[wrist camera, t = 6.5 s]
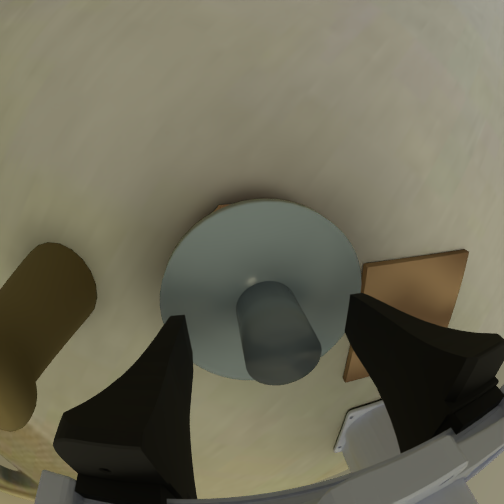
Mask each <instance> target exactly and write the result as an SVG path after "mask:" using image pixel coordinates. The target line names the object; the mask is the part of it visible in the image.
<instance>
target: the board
mask: <svg viewBox="0 0 504 504" xmlns="http://www.w3.org/2000/svg"><path fill="white" fill-rule="evenodd" d="M468 254H469V252H468V251H467V250H465V249H463V250H457V251H450V252H444V253H437V254H430V255H423V256H417V257H409V258H402V259H395V260H388V261H380V262H373V263H365V264H363V272H362V279H361V293H364V294H367V295H369V296H372V297H374V298H376V299H378V300H380V301H382V302H384V303H386V304H388V305H390V306H392V307H394V308H396V309H398V310H400V311H402V312H405V313H407V314H409V315H411V316H414V317H416V318H418V319H421V320H424V321H426V322H429V323H433V324H436V325H439V326H442V327H446V328H447V327H448V324H449V321H450V318H451V315H452V312H453V309H454V306H455V303H456V300H457V296H458V293H459V290H460V286H461V282H462V279H463V275H464V271H465V267H466V263H467V258H468ZM368 376H369V374H368V372H367V371H366V369H365V368H364V366H363V365H362V363H361V362H360V360H359V358H358V357H357V355H356V354H355V352H354V350H353V349H352V347H351V344H350V349H349V354H348V358H347V363H346V367H345V371H344V376H343V379H344V381H345V383H346V382H350V381H353V380H357V379H361V378H364V377H368Z"/></svg>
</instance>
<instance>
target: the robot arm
mask: <svg viewBox="0 0 504 504" xmlns="http://www.w3.org/2000/svg"><path fill="white" fill-rule="evenodd" d="M345 333H346V335H347V338H348V340H349V342H350V344H351V347H352V349H353V350H354V352H355V354H356V355H357V357H358V358H359V360H360V362H361V363H362V365H363V366H364V368H365V369H366V371H367V372H368V374H369V376H370V377H371V379H372V380H373V382H374V384H375V386H376V387H377V389H378V391H379V393H380V396H381V398H382V400H381V401H378V402H375V403H372V404H369V405H366V406H363V407H359V408H356V409H353V410H350V411H349V412H348V413H347V415H346V418H345V421H344V424H343V427H342V429H341V432H340V435H339V437H338V440H337V443H336V445H335V448H334V452H335V453H337V452H340V451H342V453H343V455H344V457H345V460H346V462H347V465H348V467H349V469H350V471H351V473H350V474H347V475H344V476H340V477H337V478H334V479H330V480H327V481H323V482H319V483H315V484H311V485H307V486H303V487H298V488H293V489H289V490H283V491H278V492H272V493H266V494H259V495H251V496H242V497H231V498H216V499H197V495H196V488H195V481H194V473H193V464H192V454H191V441H190V404H191V392H192V381H193V351H192V347H191V342H190V338H189V333H188V328H187V323H186V318H185V315H173V316H170V317H169V318H168V320H167V321H166V322H165V324H164V326H163V327H162V328H161V330H160V331H159V333H158V334H157V336H156V337H155V338H154V340H153V341H152V343H151V344H150V345H149V347H148V348H147V349H146V350H145V352H144V353H143V354H142V355H141V356H140V358H139V359H138V360H137V361H136V362H135V363H134V364H133V365H132V366H131V367H130V368H129V369H128V370H127V371H126V372H125V373H124V374H123V375H122V376H121V377H120V378H118V379H117V380H116V381H115V382H113V383H112V384H111V385H110V386H108V387H107V388H106V389H104V390H103V391H102V392H100V393H99V394H97V395H96V396H94V397H92V398H91V399H89V400H88V401H86V402H84V403H82V404H80V405H78V406H76V407H74V408H72V409H70V410H68V411H66V412H64V413H63V415H62V418H61V420H60V423H59V426H58V429H57V432H56V435H55V438H54V442H53V446H54V449H55V451H56V452H57V453H58V455H59V456H60V457H61V458H62V459H63V460H64V461H65V462H66V463H67V464H68V465H69V466H70V467H72V468H73V469H74V470H75V471H76V472H77V473H78V476H77V481H76V480H75V479H73V478H70V477H68V476H64V475H61V474H57V473H54V472H50V471H47V470H42V474H41V478H40V482H39V486H38V490H37V494H36V499H35V504H478V503H477V501H476V499H475V498H474V496H473V494H472V492H471V491H470V489H469V487H468V486H467V484H466V482H467V481H468V480H470V479H471V478H472V477H473V476H475V475H476V474H477V473H479V472H480V471H481V470H482V469H483V468H485V467H486V466H487V465H488V464H489V463H491V462H492V461H493V460H494V459H495V458H496V457H497V456H499V455H500V454H501V453H502V452H503V451H504V385H503V386H502V387H501V388H500V389H499V388H498V387H497V386H496V385H497V384H498V379H497V378H496V377H495V375H496V374H497V372H498V370H499V368H500V366H501V365H502V363H503V361H504V339H503V338H502V337H501V336H500V335H498V334H491V333H474V332H466V331H460V330H455V329H451V328H446V327H442V326H439V325H436V324H433V323H429V322H426V321H424V320H421V319H418V318H416V317H414V316H411V315H409V314H407V313H405V312H402V311H400V310H398V309H396V308H394V307H392V306H390V305H388V304H386V303H384V302H382V301H380V300H378V299H376V298H374V297H372V296H369V295H367V294H364V293H356V294H350V299H349V306H348V313H347V319H346V325H345Z"/></svg>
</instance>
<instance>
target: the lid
mask: <svg viewBox="0 0 504 504" xmlns="http://www.w3.org/2000/svg"><path fill="white" fill-rule="evenodd" d="M356 293H361V271H360V266H359V262H358V259H357V256H356V253H355V251H354V249H353V247H352V245H351V243H350V242H349V240H348V239H347V238H346V236H345V235H344V234H343V232H342V231H340V230H339V229H338V228H337V227H336V226H335V225H334V224H333V223H332V222H330V221H329V220H327V219H326V218H324V217H323V216H322V215H320V214H319V213H317V212H316V211H314V210H312V209H310V208H308V207H306V206H304V205H301V204H298V203H295V202H291V201H287V200H281V199H266V198H261V199H252V200H245V201H241V202H237V203H233V204H230V205H228V206H226V207H223V208H221V209H218V210H216V211H215V212H213V213H211V214H209V215H208V216H206V217H204V218H203V219H202V220H201V221H199V222H198V223H197V224H195V225H194V226H193V227H192V228H191V229H190V230H189V231H188V232H187V233H186V234H185V235H184V236H183V238H182V239H181V240H180V242H179V243H178V244H177V246H176V247H175V249H174V251H173V253H172V255H171V257H170V259H169V262H168V264H167V267H166V270H165V273H164V277H163V280H162V285H161V291H160V309H161V316H162V320H163V323H164V324H165V322H166V321H167V320H168V318H169V317H170V316H173V315H185V318H186V323H187V328H188V333H189V338H190V342H191V347H192V351H193V363H194V364H196V365H197V366H199V367H201V368H203V369H205V370H207V371H209V372H211V373H214V374H217V375H219V376H223V377H227V378H232V379H239V380H256V381H258V382H260V383H263V384H267V385H284V384H288V383H292V382H294V381H297V380H299V379H301V378H303V377H304V376H306V375H307V374H308V373H310V372H311V371H312V370H313V369H314V368H315V366H316V365H317V363H318V362H319V360H320V357H321V356H323V355H324V354H325V353H327V352H328V351H329V350H330V349H331V348H332V347H333V346H334V345H335V344H336V343H337V342H338V340H339V339H340V338H341V337H342V336H343V334H344V333H345V325H346V319H347V313H348V306H349V299H350V294H356Z"/></svg>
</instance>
